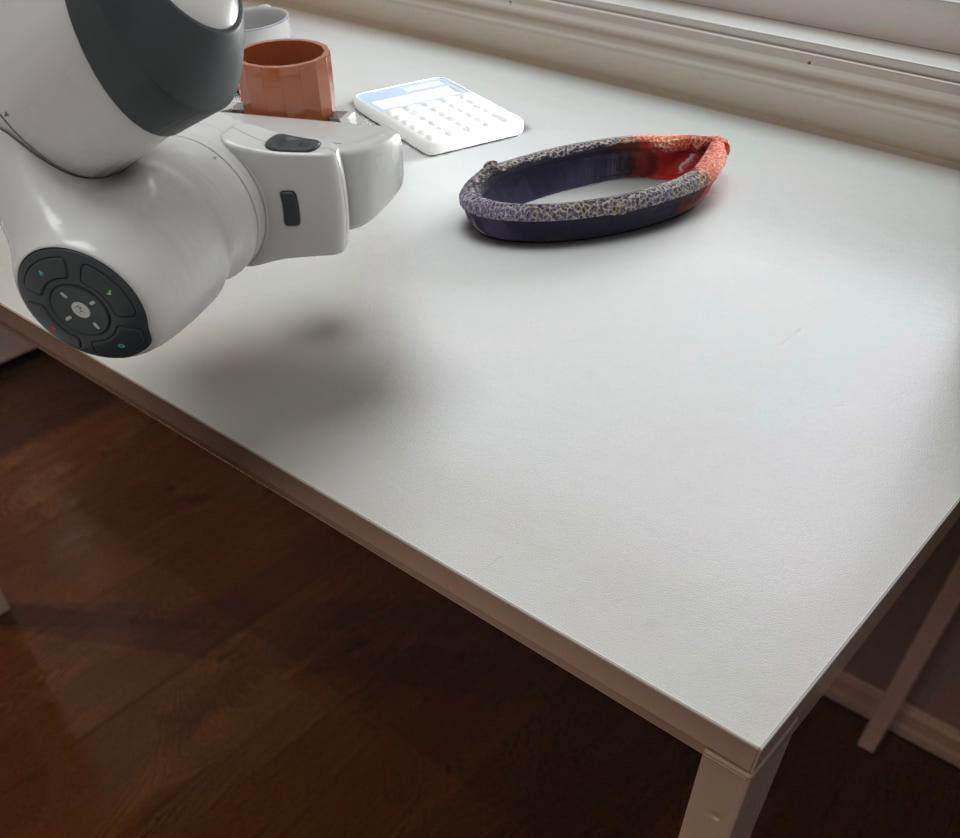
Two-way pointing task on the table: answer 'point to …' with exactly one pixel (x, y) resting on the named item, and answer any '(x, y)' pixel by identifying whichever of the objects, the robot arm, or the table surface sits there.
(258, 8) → the teacup
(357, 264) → the table surface
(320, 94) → the terracotta cup
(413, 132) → the calculator
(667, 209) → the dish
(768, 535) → the table surface
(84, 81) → the robot arm
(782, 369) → the table surface
